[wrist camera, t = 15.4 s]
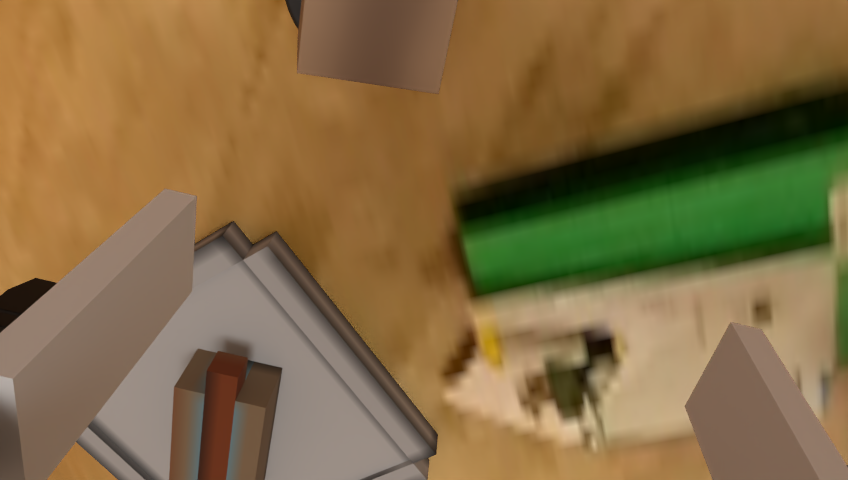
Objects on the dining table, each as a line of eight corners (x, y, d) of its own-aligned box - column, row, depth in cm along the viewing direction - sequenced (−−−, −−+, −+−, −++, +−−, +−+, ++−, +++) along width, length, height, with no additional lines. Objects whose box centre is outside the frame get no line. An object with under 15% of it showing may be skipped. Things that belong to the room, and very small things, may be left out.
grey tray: (16, 347, 61) (-40, 402, 54) (259, 203, 52) (227, 249, 45) (220, 536, 72) (194, 601, 65) (451, 446, 63) (448, 511, 56)
